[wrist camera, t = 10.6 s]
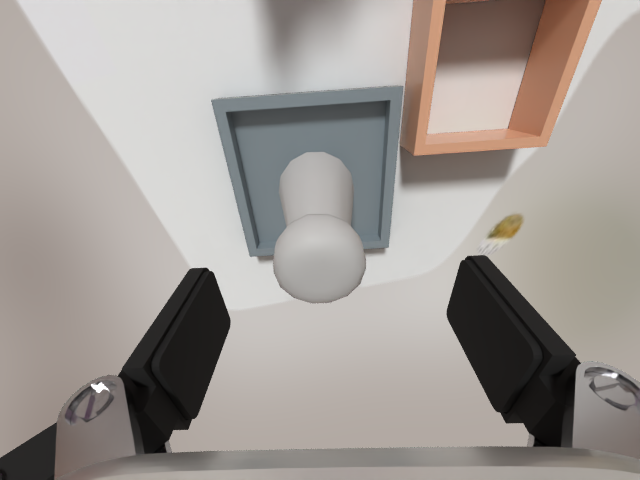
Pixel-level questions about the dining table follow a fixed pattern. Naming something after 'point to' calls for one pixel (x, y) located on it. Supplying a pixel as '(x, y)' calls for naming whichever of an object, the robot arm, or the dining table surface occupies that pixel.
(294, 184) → the salt shaker
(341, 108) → the tray
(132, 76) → the dining table surface
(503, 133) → the open box
